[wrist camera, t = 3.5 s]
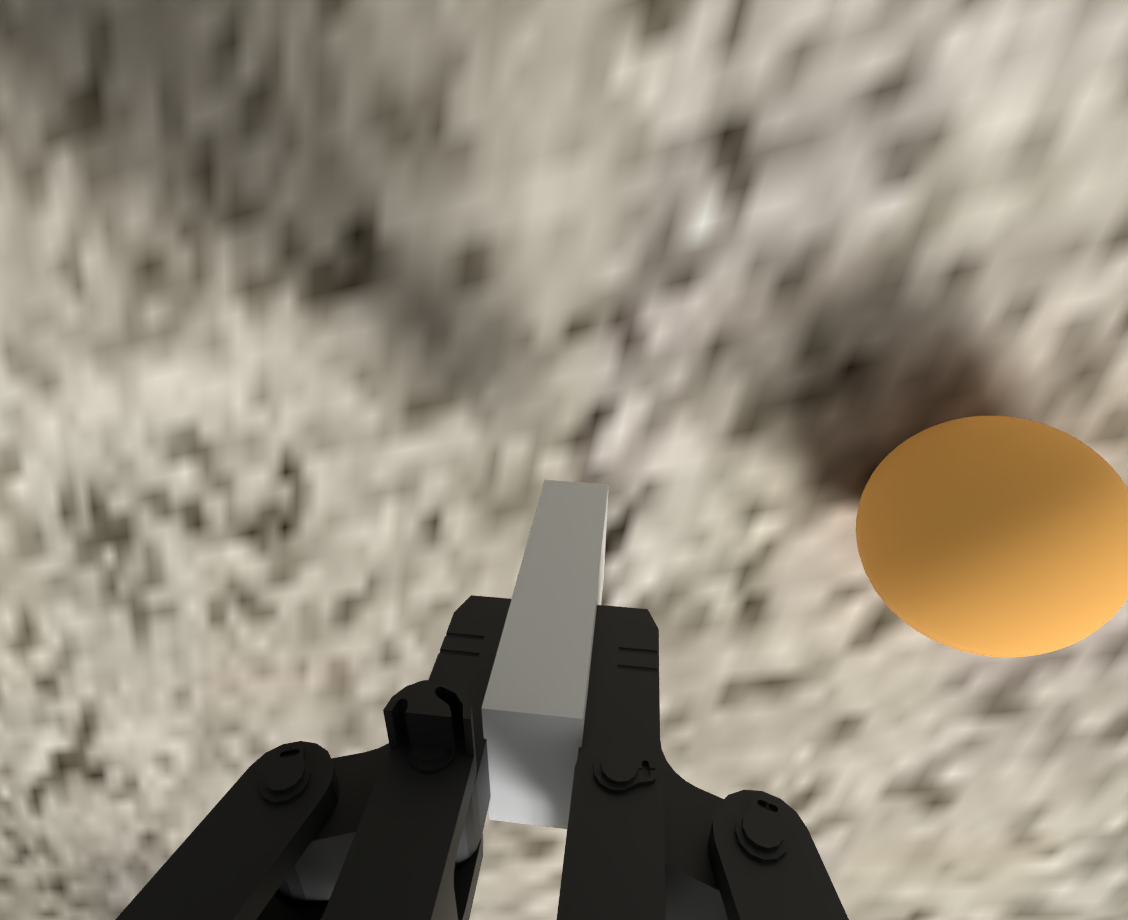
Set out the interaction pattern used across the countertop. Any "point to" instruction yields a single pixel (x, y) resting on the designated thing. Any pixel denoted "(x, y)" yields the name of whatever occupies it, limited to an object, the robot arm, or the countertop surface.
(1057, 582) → the ball
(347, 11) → the countertop surface
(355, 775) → the robot arm
